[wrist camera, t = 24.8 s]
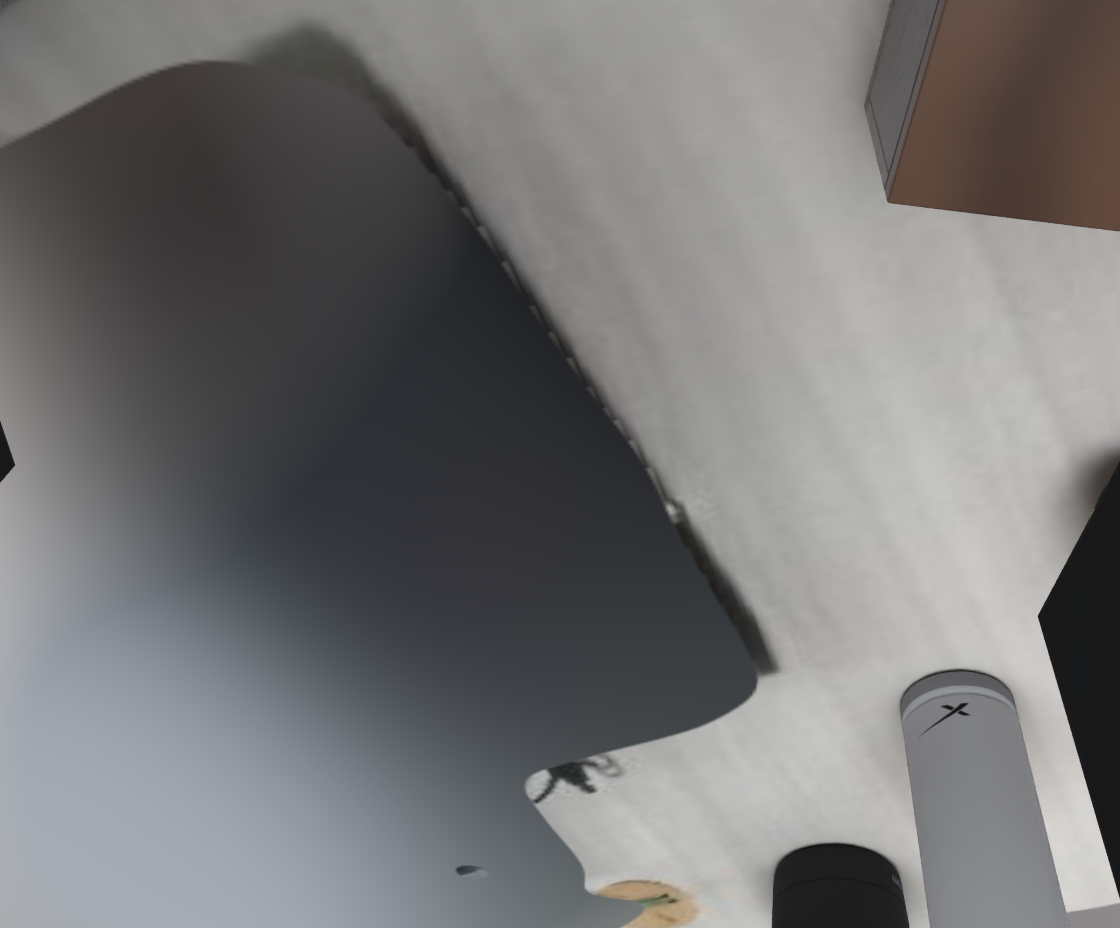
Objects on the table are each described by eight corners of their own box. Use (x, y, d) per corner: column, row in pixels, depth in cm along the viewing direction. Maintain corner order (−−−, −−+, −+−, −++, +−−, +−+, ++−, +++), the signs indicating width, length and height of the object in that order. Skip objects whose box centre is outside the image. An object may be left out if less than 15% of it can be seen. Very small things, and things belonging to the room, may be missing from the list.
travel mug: (922, 655, 58) (985, 1027, 43) (1034, 685, 59) (1136, 1065, 43) (876, 720, 62) (917, 1081, 47) (981, 748, 63) (1056, 1116, 47)
